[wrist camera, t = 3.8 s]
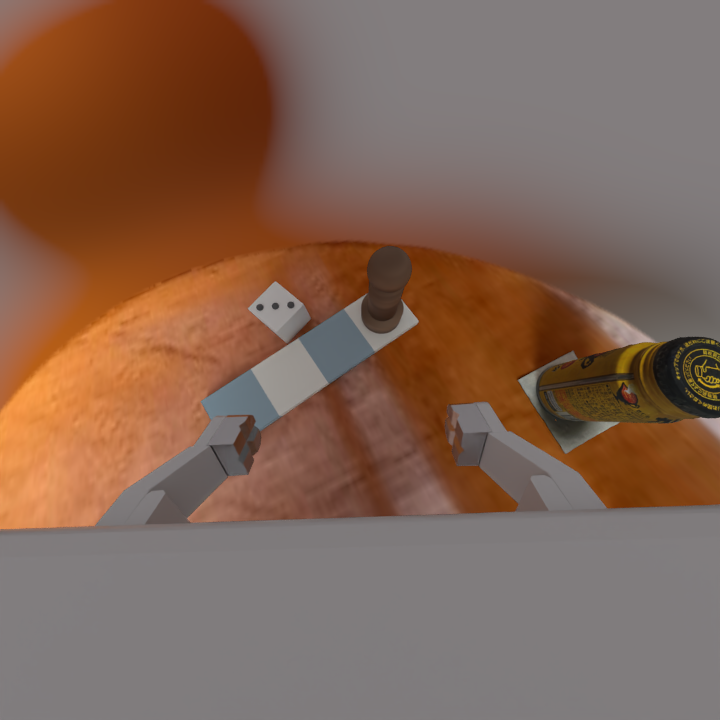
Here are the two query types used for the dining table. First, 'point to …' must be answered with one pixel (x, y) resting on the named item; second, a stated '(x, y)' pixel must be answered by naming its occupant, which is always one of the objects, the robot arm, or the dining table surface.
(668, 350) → the condiment
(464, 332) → the dining table surface
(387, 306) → the pawn
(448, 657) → the robot arm
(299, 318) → the die
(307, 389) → the board
